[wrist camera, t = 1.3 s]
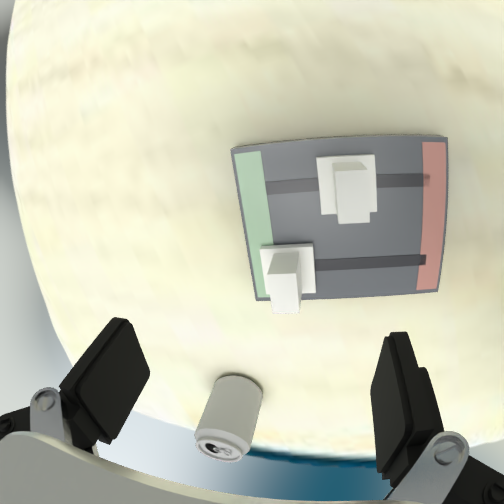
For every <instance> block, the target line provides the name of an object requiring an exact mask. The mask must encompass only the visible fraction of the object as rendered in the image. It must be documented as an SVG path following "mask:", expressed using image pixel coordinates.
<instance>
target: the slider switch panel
mask: <svg viewBox="0 0 504 504" xmlns="http://www.w3.org/2000/svg"><path fill="white" fill-rule="evenodd" d="M230 150H231V156H232V162H233V168H234V174H235V180H236V186H237V192H238V198H239V204H240V210H241V216H242V222H243V228H244V234H245V239H246V245H247V251H248V257H249V263H250V269H251V275H252V281H253V286H254V292H255V298H256V301H271V299H270V294H266V290H265V283H264V276H263V270H262V263H261V256H260V250H259V249H260V247H261V246H271V245H289V244H307V243H313V250H314V265H315V281H316V293H302V297H301V300H313V299H337V298H358V297H375V296H391V295H405V294H418V293H430V292H438V288H439V282H440V275H441V268H442V261H443V253H444V244H445V234H446V221H447V205H448V138H447V137H444V136H440V135H361V136H340V137H324V138H311V139H299V140H289V141H279V142H270V143H262V144H254V145H247V146H239V147H235V148H232V149H230ZM359 154H374V155H375V168H376V190H377V212H370V223H350V224H339V223H338V218H337V214H326V215H321V203H320V191H319V180H318V170H317V161H316V157H323V156H339V155H359Z"/></svg>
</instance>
